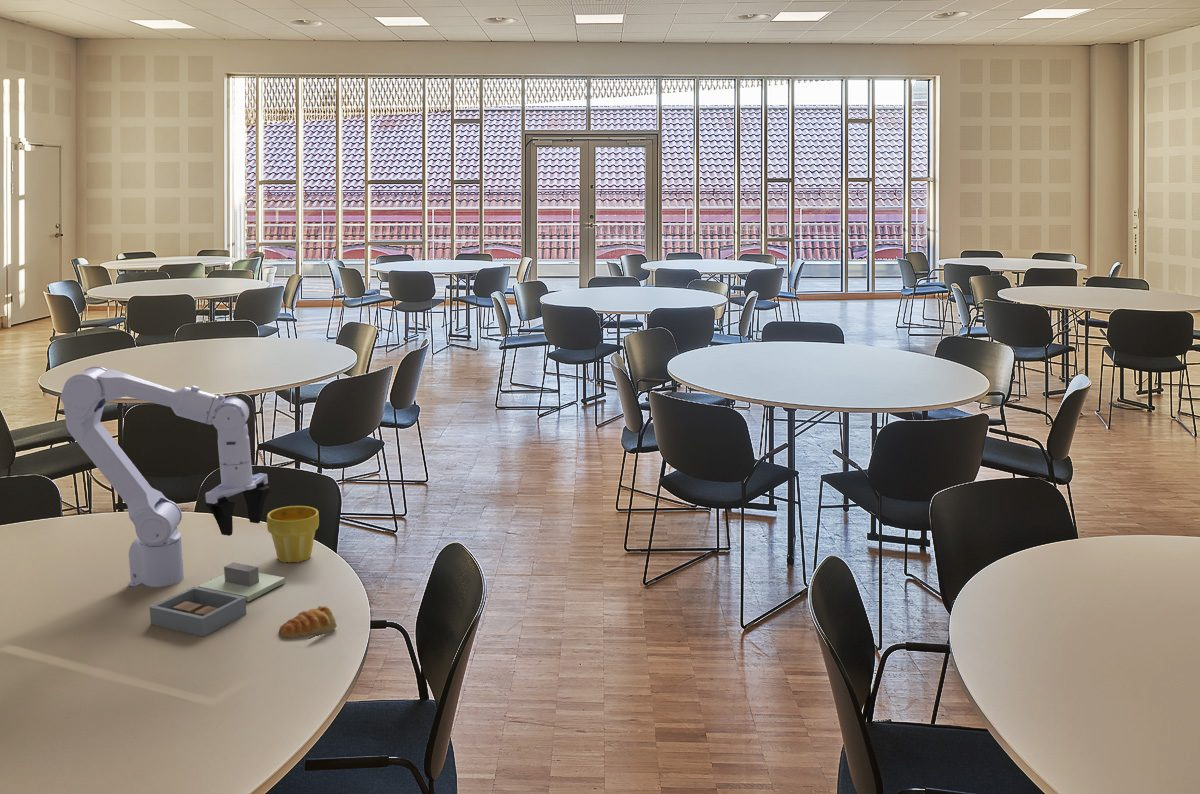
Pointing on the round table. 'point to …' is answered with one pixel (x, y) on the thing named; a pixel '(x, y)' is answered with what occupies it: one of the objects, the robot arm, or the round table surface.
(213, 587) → the lid
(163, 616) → the box
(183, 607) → the brick
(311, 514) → the plant pot
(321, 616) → the pastry
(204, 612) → the brick
